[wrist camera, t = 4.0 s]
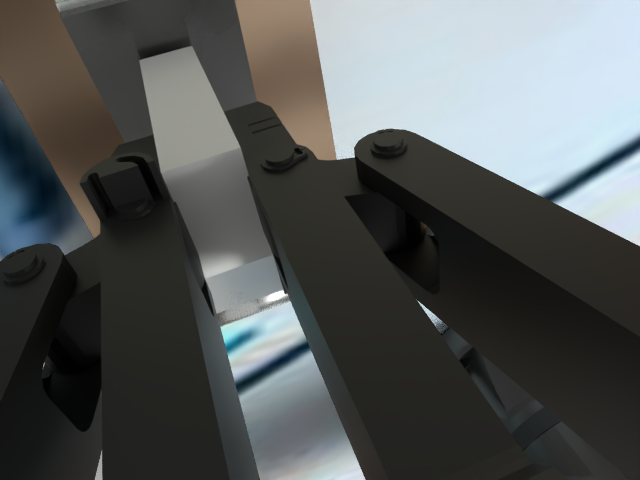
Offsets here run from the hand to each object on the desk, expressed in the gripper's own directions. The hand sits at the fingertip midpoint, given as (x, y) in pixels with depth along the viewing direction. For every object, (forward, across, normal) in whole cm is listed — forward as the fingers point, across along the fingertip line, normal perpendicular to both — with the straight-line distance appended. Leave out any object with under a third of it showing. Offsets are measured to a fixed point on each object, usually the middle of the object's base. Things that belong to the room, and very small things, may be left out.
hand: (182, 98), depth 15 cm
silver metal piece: (+4, 0, +5) cm, 6 cm away
